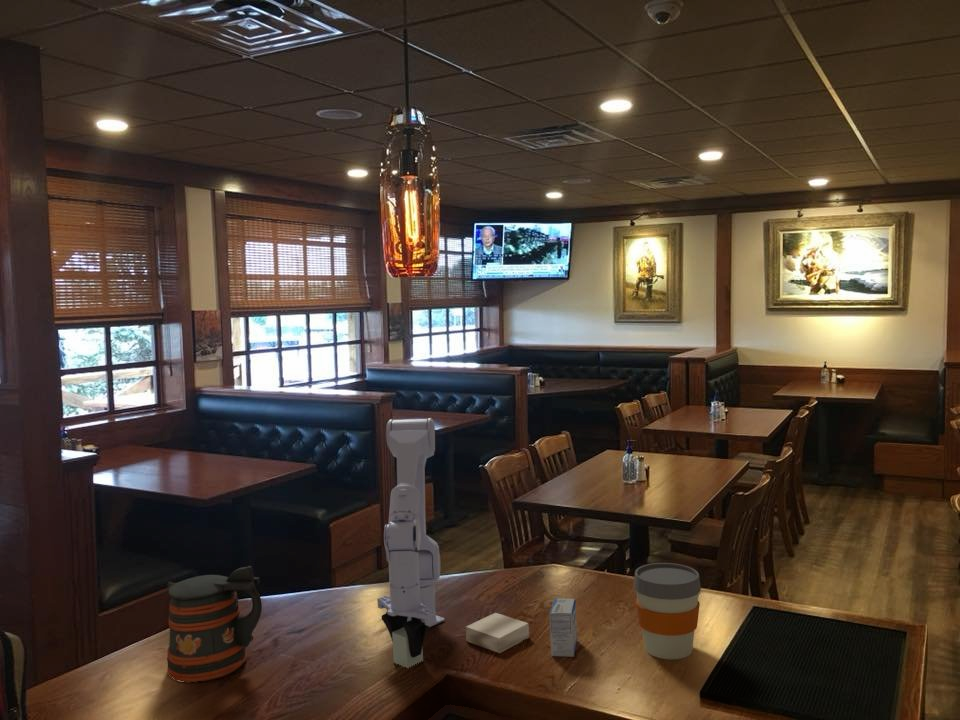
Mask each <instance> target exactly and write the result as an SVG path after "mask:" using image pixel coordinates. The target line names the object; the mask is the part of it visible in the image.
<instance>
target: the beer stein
mask: <svg viewBox="0 0 960 720" xmlns="http://www.w3.org/2000/svg"><path fill="white" fill-rule="evenodd" d="M260 583H261V577H259V576H257V577H256V576H254V569H253V567H252V566H251V565H248V566H244V567H243V566H242V567H239V568H237V569H235V570H234V571H232V573H230V575H228V576H224V575H220V574H205V575H198V576H197V575H196V576H194V577H190V578H187V579H184V580H181V581H178V582H171V581H168V582H167V589H168V595H169V596H170V597H171V599H170V601H169V610H168V611H169V612H168V626H169V641H168V642H169V644H168V647H167V658H166V661H167V669H166V670H167V673H169V674H168V676H169V675H170V676H171V677H173V678H174V679H175V680H180V681H184V682H194V683H198V681H201V682H208V681H211V680H215V679H216V680H217V679H221V678H222V677H225V676H228V675H230V674H232V673H234V672H235V671H237V670H238V669H239V668H241V667H242V666H244V664H243V663H245V662H246V660H247V657H248V655H247V654H248V653H247V647H248V646H250V644H251V642H252V641H253V640H254V638H255V637H254V635H252V633H253V632H254V630H255V629H256V627H257V625H258V623H259V621H260V618H261V615H262V609H263V606H262V605H263V604H262V599H261V596H260V593H259V591H258V590H257V588H256V586H258V585H259V584H260ZM237 592H243V593H246V594H247V595H248V596H249V597H250V600H251V602H252V606H251V607H252V608H251V610H250V612H249V613H248V614H246V615H242V616H241V615H240V613H241V607H240V604H239V599H238V593H237ZM170 676H169V677H170ZM171 677H170V678H171ZM174 679H173V680H174ZM175 680H174V681H175Z"/></svg>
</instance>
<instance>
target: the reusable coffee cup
mask: <svg viewBox="0 0 960 720" xmlns="http://www.w3.org/2000/svg"><path fill="white" fill-rule="evenodd" d="M701 587H702V586H701V581H700V574H699V572H698V571H697V570H696V569H694V568H693V567H691V566H687V565H684V564H679V563H672V562H656V563H655V562H654V563H648V564H643V565H641V566H638V568H636V569H635V571H634V579H633V589H634V590H635V591H636V599H635V607H636V614H637V619H638V625H639V626H640V627H641V630H642V631H641V632H642V638H643V645H644V650H645V651H646V653H647V654H649V655H650V656H652V657H654V658H658V659H663V660H680V659H684V658H685V659H686V658H687V657H689V656H690V655H691V654H692V653H693V647H694V645H693V644H694V638H695V631H696V630H697V628H698V623H699V613H700V603H701V602H700V601H699V594H700V593H701V591H702V590H701V589H702V588H701Z"/></svg>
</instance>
